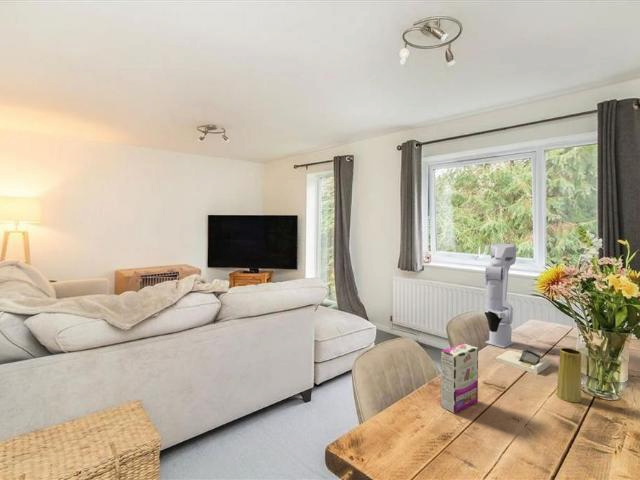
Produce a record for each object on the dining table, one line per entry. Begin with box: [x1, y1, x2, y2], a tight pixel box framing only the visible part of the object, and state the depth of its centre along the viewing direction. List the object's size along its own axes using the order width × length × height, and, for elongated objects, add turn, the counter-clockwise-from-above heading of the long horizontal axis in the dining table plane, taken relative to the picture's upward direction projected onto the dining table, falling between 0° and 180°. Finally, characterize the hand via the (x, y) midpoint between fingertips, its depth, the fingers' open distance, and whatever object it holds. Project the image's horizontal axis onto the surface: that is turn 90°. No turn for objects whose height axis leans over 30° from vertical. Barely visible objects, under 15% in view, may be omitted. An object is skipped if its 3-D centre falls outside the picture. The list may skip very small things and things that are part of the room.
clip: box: [520, 347, 542, 366], centre depth 125 cm, size 4×5×5 cm
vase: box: [556, 347, 582, 403], centre depth 102 cm, size 6×6×14 cm
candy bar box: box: [440, 343, 479, 415], centre depth 97 cm, size 11×5×16 cm, turn 123°
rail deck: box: [495, 349, 551, 375], centre depth 127 cm, size 12×14×2 cm
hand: (493, 331), depth 133 cm, fingers closed
